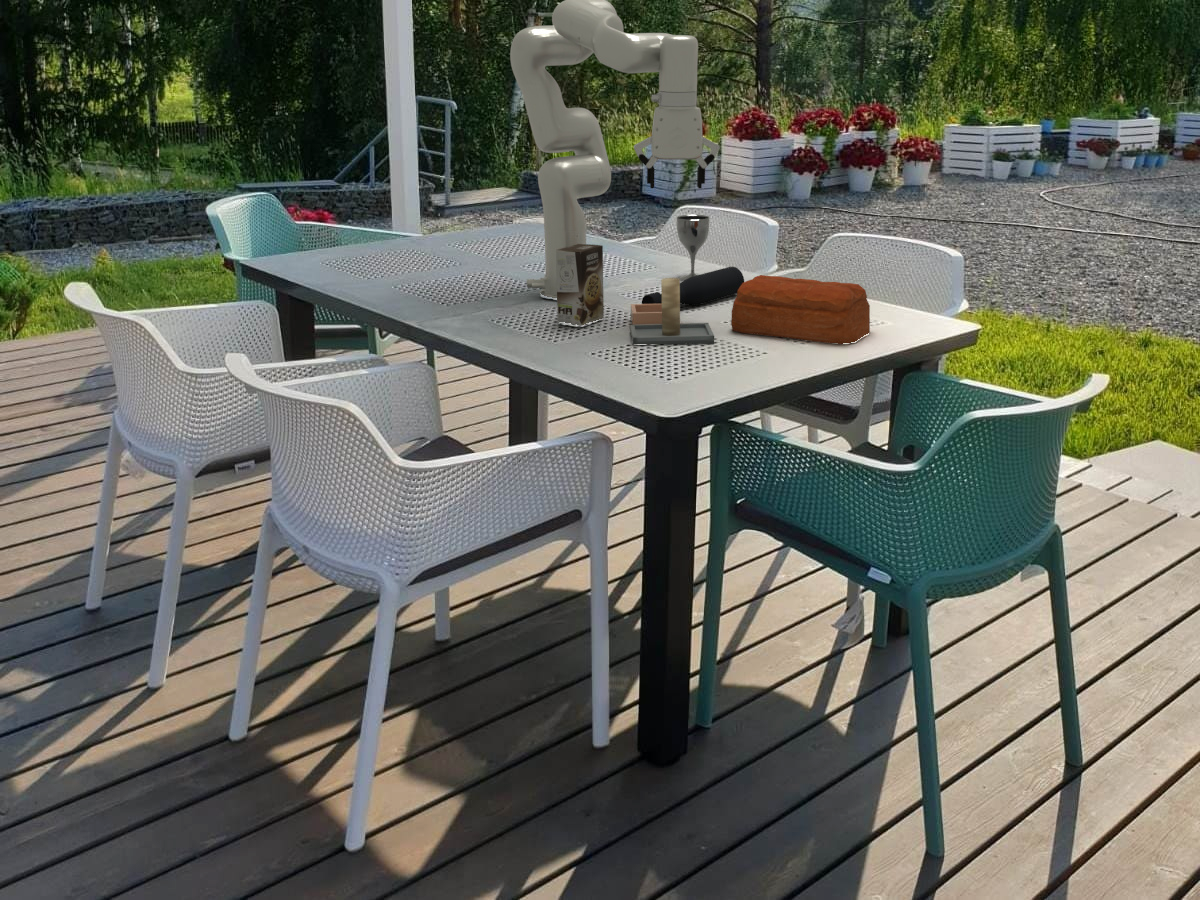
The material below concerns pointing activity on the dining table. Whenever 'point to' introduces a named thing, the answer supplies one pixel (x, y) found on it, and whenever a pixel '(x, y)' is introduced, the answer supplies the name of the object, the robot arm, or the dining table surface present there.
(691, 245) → the wine glass
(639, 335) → the tray
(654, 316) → the square copper frame
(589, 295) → the coffee box
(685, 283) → the wine bottle
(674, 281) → the dowel
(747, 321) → the bread
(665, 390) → the dining table surface
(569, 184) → the robot arm
